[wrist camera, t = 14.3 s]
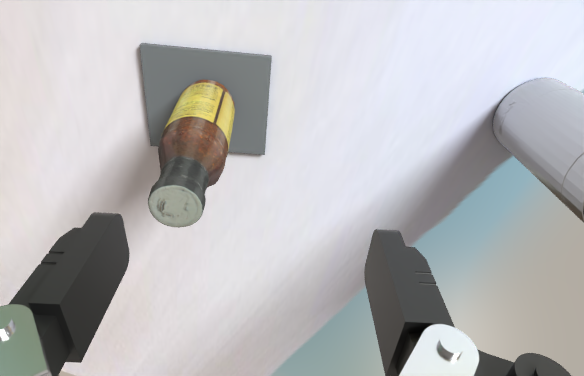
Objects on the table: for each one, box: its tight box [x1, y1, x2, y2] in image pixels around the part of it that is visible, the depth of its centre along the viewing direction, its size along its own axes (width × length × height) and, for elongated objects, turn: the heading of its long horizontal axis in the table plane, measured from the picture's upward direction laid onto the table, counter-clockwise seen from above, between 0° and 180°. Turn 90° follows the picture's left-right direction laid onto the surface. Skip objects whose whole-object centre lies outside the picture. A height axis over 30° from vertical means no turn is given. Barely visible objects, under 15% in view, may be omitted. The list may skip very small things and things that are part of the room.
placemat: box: [140, 43, 271, 155], centre depth 45 cm, size 14×12×1 cm
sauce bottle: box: [148, 79, 235, 227], centre depth 37 cm, size 7×6×20 cm
